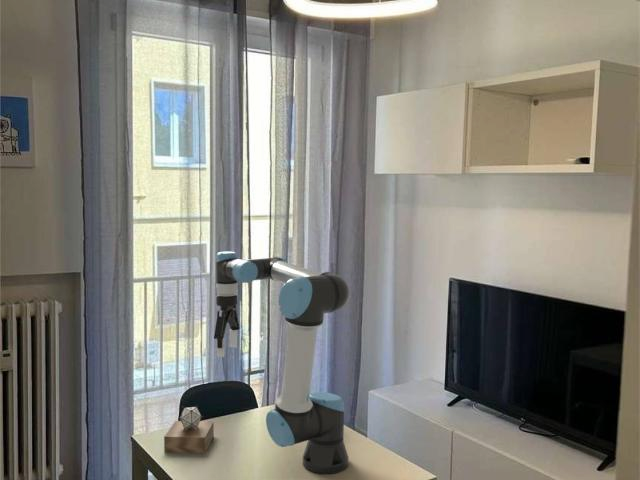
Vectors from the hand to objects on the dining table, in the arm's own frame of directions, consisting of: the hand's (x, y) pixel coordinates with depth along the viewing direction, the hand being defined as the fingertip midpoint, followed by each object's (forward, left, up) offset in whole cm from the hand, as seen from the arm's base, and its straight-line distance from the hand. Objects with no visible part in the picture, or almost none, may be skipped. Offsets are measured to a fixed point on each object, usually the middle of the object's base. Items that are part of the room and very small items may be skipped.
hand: (227, 351), depth 224 cm
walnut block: (+9, +13, -31) cm, 35 cm away
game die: (+9, +13, -25) cm, 29 cm away
